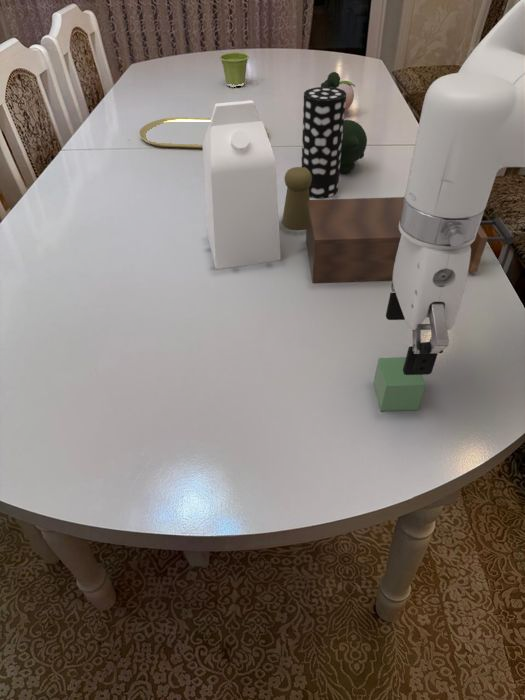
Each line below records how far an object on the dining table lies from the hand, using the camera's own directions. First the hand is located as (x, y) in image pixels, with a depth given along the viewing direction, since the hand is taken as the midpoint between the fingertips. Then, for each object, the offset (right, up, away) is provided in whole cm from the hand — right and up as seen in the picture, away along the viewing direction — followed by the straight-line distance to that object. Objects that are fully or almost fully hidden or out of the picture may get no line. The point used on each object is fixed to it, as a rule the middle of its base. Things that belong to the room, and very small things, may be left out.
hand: (406, 344), depth 61 cm
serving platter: (-34, +57, +74) cm, 100 cm away
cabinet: (0, +16, +31) cm, 34 cm away
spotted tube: (-5, +35, +51) cm, 62 cm away
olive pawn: (-11, +25, +41) cm, 49 cm away
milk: (-21, +19, +34) cm, 44 cm away
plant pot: (-27, +88, +106) cm, 140 cm away
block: (0, -7, +7) cm, 10 cm away
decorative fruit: (+4, +67, +84) cm, 108 cm away
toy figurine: (+1, +46, +62) cm, 77 cm away
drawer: (+14, +17, +30) cm, 37 cm away
